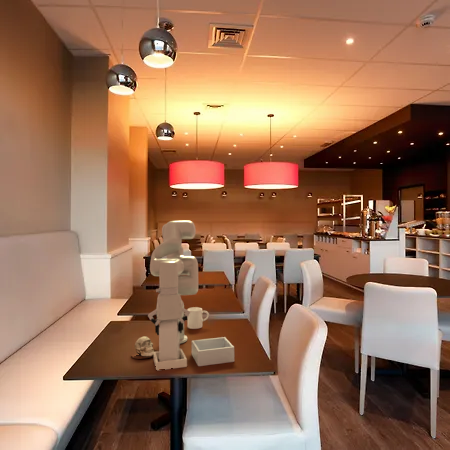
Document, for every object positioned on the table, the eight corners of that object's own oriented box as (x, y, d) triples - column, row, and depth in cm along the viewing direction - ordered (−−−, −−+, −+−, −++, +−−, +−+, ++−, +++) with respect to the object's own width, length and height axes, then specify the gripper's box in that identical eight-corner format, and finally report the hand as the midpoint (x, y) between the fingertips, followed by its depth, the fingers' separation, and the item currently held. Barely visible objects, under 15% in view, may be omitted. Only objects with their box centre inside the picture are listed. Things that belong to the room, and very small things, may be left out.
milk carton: (176, 366, 140) (176, 319, 140) (159, 366, 140) (158, 319, 140) (179, 359, 147) (179, 314, 147) (162, 359, 148) (162, 314, 147)
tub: (191, 354, 153) (191, 340, 153) (225, 350, 157) (224, 337, 157) (198, 366, 140) (198, 351, 140) (234, 361, 145) (234, 347, 145)
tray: (153, 359, 148) (153, 352, 148) (181, 355, 151) (181, 348, 151) (156, 370, 136) (156, 362, 136) (186, 366, 140) (186, 359, 140)
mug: (208, 329, 188) (208, 311, 188) (186, 328, 190) (186, 310, 189) (210, 324, 196) (210, 307, 196) (189, 324, 198) (189, 307, 197)
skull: (166, 351, 154) (153, 338, 149) (151, 372, 149) (136, 359, 144) (151, 344, 163) (138, 331, 158) (136, 363, 158) (122, 350, 152)
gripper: (148, 294, 138) (148, 338, 138) (191, 291, 143) (192, 333, 143) (146, 290, 145) (147, 332, 145) (188, 288, 150) (188, 328, 150)
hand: (169, 333), depth 144 cm, fingers closed on milk carton, 8 cm apart
